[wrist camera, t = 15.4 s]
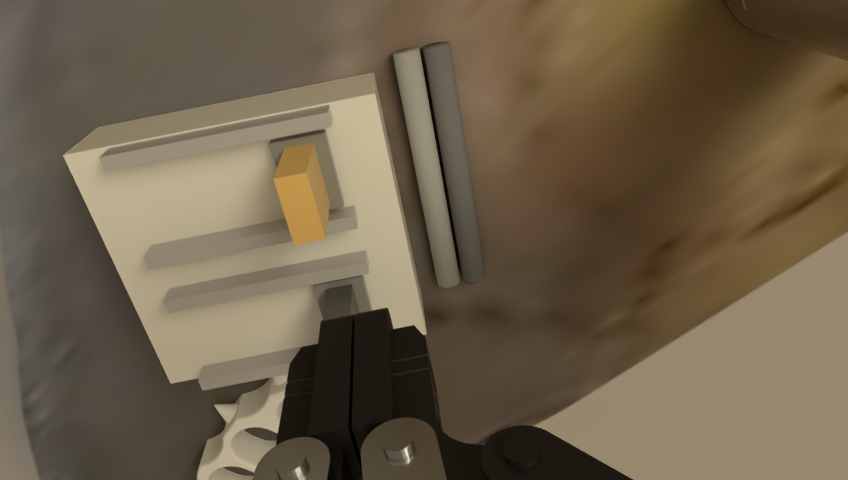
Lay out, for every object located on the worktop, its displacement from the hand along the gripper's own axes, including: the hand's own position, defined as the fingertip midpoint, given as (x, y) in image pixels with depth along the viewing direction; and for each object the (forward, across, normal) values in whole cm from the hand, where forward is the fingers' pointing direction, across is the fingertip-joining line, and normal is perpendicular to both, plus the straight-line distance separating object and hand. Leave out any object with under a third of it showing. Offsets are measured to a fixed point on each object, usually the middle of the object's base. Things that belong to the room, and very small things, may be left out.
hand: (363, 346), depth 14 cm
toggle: (+22, +4, +12) cm, 26 cm away
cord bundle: (+27, -4, +7) cm, 28 cm away
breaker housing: (+27, +8, +8) cm, 29 cm away
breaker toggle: (+22, +4, +4) cm, 23 cm away
